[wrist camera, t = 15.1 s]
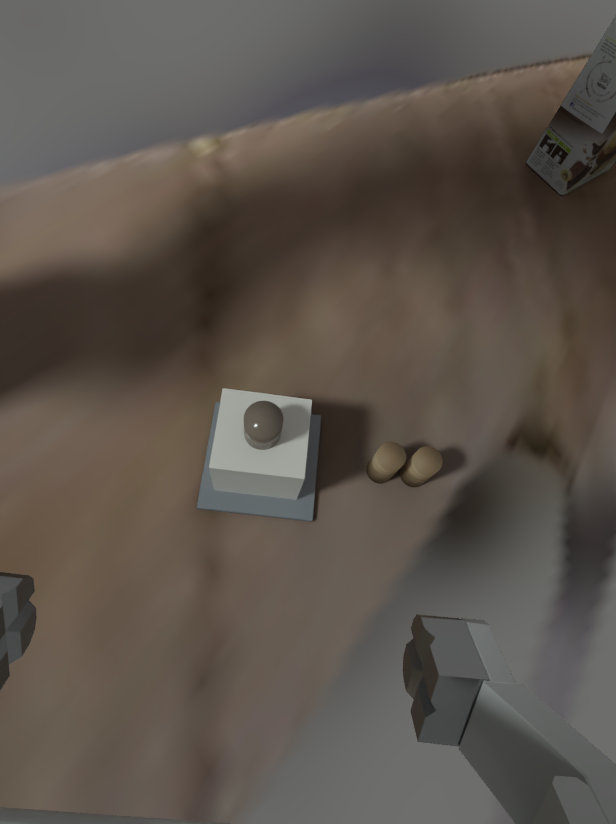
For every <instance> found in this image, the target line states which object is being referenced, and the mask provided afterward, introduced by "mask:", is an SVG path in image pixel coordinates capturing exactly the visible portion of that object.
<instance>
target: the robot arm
mask: <svg viewBox="0 0 616 824" xmlns="http://www.w3.org/2000/svg"><path fill="white" fill-rule="evenodd" d="M34 591H35V589H34V580H33V578H32V577H30V576H29V575H21V574H13V573H5V572H0V690H1V689H2V687H3V685H4V684H5V682H6V681H7V679H8V678H9V676H10V672H9V664H11V663H12V662H14V661H15V660H17V659H19V658H20V657H22V656H23V654H24V652H25V651H26V649H27V647H28V646H29V644H30V641H31V638H32V636H33V633H34V630H35V625H36V608H35V606H34V605H33V604H32V603H31V602H30V601H29V599H30V597H31V596H32V594H33V593H34ZM411 631H412V635H413V639H412V640H411V641H410V642H408V643H407V644H406V648H405V652H404V657H403V677H404V683H405V688H406V691H407V693H408V694H409V695H410V696H411V697H412V698H413V699H414V701H413V704H412V708H411V715H412V719H413V723H414V728H415V732H416V736H417V740H418V742H424V743H433V744H442V745H450V746H459V750H460V751H461V753H462V754H463V755H464V756H465V758H466V759H467V760H468V762H469V763H470V764H471V766H472V767H473V768H474V770H475V771H476V772H477V773H478V775H479V776H480V777H481V779H482V780H483V781H484V783H485V784H486V785H487V787H488V788H489V789H490V791H491V792H492V793H493V794H494V796H495V797H496V798H497V800H498V801H499V802H500V804H501V805H502V806H503V808H504V809H505V810H506V812H507V813H508V814H509V815H510V817H511V818H512V819H513V821H514V822H515V823H516V824H616V764H615V763H614V762H612V760H610V759H609V758H608V757H607V756H606V755H604V754H603V753H602V752H601V751H600V750H599V749H597V748H596V747H595V746H594V745H593V744H592V743H591V742H589V741H588V740H587V739H586V738H585V737H583V736H582V735H581V734H580V733H579V732H578V731H577V730H576V729H574V728H573V727H572V726H571V725H570V724H569V723H567V722H566V721H565V720H564V719H563V718H562V717H560V716H559V715H558V714H557V713H556V712H555V711H553V710H552V709H551V708H550V707H549V706H548V705H547V704H545V703H544V702H543V701H542V700H541V699H540V698H538V697H537V696H536V695H535V694H534V693H533V692H531V691H530V690H529V689H528V688H527V687H526V686H524V685H523V684H516V682H515V680H514V678H513V676H512V673H511V671H510V670H509V667H508V665H507V663H506V661H505V659H504V657H503V655H502V652H501V650H500V648H499V647H498V644H497V642H496V640H495V638H494V636H493V634H492V632H491V629H490V627H489V625H488V623H486V622H485V621H484V620H476V619H464V618H462V619H459V618H448V617H437V616H426V615H416V617H415V618H414V620H413V623H412V626H411ZM0 824H229V823H215V822H201V821H187V820H173V819H159V818H145V817H131V816H117V815H103V814H89V813H75V812H61V811H47V810H33V809H19V808H5V807H0Z"/></svg>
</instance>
